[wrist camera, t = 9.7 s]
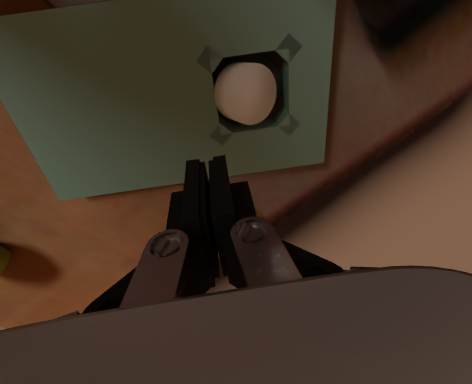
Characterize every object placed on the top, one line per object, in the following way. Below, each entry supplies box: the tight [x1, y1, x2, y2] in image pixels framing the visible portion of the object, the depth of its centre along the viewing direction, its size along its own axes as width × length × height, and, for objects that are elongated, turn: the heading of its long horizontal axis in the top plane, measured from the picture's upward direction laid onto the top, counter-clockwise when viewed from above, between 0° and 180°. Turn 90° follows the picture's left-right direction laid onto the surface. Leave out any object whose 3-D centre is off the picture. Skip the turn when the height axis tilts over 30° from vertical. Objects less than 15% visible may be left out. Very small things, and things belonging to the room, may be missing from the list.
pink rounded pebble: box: [214, 62, 277, 125], centre depth 24 cm, size 5×5×2 cm
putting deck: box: [0, 0, 336, 201], centre depth 25 cm, size 16×28×2 cm, turn 97°
